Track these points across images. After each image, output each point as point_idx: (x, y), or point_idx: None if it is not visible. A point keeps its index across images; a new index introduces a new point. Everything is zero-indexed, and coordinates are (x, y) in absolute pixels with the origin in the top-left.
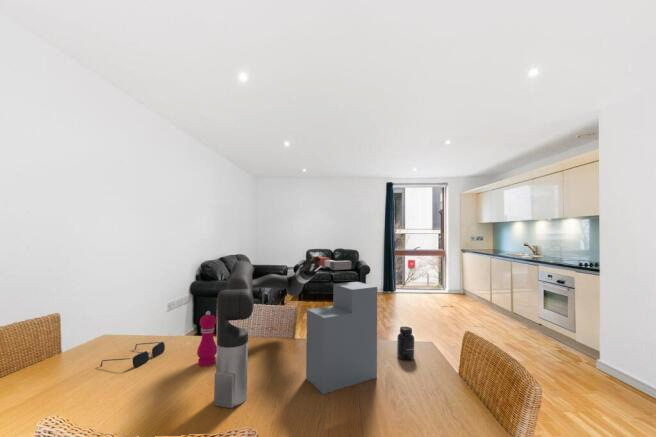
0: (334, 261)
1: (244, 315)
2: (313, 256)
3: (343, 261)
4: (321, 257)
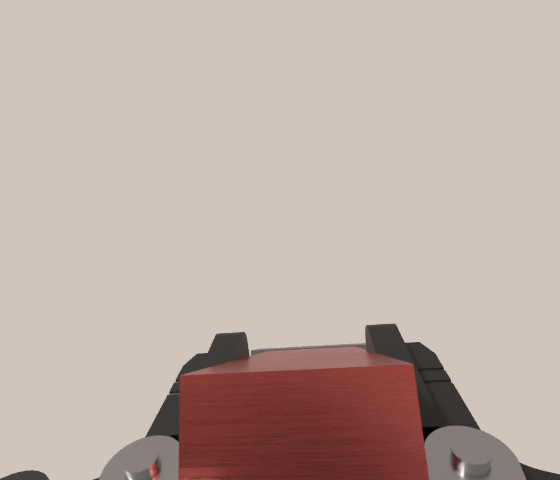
0: (357, 344)
1: None
2: (405, 363)
3: (306, 346)
4: (324, 351)
